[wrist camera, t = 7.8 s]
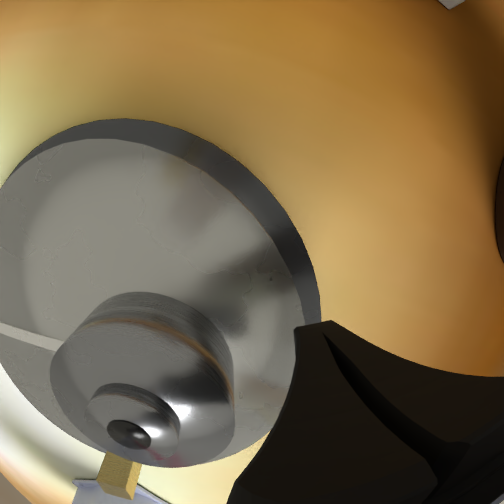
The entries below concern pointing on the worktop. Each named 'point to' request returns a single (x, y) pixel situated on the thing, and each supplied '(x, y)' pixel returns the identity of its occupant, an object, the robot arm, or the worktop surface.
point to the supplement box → (451, 3)
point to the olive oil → (500, 211)
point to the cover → (148, 381)
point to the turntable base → (222, 171)
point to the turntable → (139, 273)
